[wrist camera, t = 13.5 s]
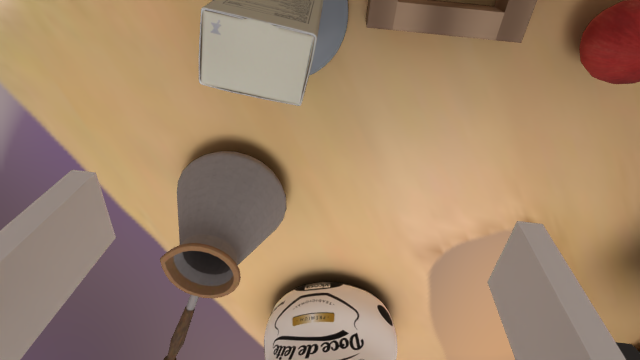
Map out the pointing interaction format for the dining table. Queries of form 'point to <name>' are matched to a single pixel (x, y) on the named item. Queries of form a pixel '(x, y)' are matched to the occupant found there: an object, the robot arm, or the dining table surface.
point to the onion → (613, 44)
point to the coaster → (330, 32)
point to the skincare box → (259, 47)
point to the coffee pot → (219, 226)
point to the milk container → (330, 325)
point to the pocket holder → (453, 18)
